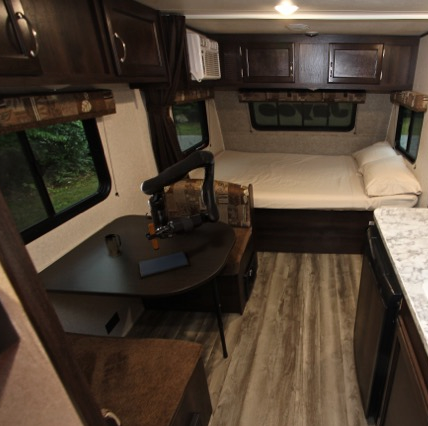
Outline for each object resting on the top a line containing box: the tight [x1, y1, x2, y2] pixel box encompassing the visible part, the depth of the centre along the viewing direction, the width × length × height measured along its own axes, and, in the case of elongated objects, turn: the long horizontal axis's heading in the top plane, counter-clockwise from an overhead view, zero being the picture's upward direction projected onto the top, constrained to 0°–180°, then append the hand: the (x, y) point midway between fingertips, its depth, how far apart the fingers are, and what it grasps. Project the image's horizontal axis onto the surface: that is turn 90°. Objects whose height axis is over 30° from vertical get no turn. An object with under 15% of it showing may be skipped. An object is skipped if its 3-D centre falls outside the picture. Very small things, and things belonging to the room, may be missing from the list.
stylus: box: [147, 222, 160, 251], centre depth 143 cm, size 2×2×14 cm
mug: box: [104, 233, 122, 258], centre depth 156 cm, size 8×6×12 cm
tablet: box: [138, 250, 190, 279], centre depth 150 cm, size 14×22×1 cm, turn 120°
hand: (147, 237), depth 140 cm, fingers closed on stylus, 2 cm apart
